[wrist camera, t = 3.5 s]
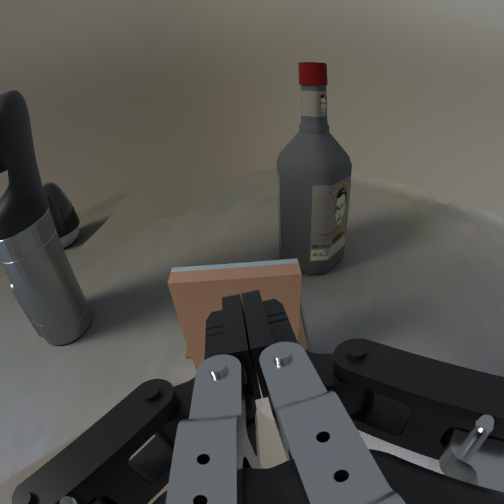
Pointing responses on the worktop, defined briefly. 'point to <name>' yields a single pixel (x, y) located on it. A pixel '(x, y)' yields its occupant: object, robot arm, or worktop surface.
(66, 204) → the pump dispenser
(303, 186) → the liquor
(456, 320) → the worktop surface
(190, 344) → the tile
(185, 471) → the robot arm
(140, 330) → the worktop surface
